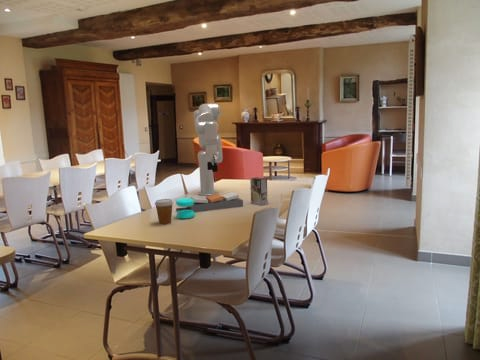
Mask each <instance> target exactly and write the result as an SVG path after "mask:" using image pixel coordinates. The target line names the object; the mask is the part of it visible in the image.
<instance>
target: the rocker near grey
mask: <svg viewBox="0 0 480 360" xmlns="http://www.w3.org/2000/svg"><path fill="white" fill-rule="evenodd" d="M190 198H191V199H193V200H194V202H198V203H208V200H207V199H206V197H205V196H194V195H190Z"/></svg>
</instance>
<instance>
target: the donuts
mask: <svg viewBox="0 0 480 360" xmlns="http://www.w3.org/2000/svg"><path fill="white" fill-rule="evenodd" d="M175 204H176V205H177V206H178V207H179V208H184V207H188V206H191V205H193V204H194V200H193V199H191V197H190V198H188V197H184V198H179V199H176V202H175ZM195 214H196V212H194V211H192V210H181V211H177V213H176V217H177V218H179V219H183V220H184V219H186V220H188V219H191V218H194V217H195Z"/></svg>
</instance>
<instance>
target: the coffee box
mask: <svg viewBox="0 0 480 360" xmlns="http://www.w3.org/2000/svg"><path fill="white" fill-rule="evenodd" d="M250 202H251V204H253V205H261V206H263V205H266V204H267V205H268V178H266V177H258V176H257V177H256V176H255V177H251V178H250Z"/></svg>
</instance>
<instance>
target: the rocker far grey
mask: <svg viewBox="0 0 480 360" xmlns="http://www.w3.org/2000/svg"><path fill="white" fill-rule="evenodd" d="M220 195H221V196H223V199H224V200H226V201H228V200H232V199H235V198H240V195H239V193H236V192H234V191H231V192H227V193H224V194H220Z"/></svg>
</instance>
